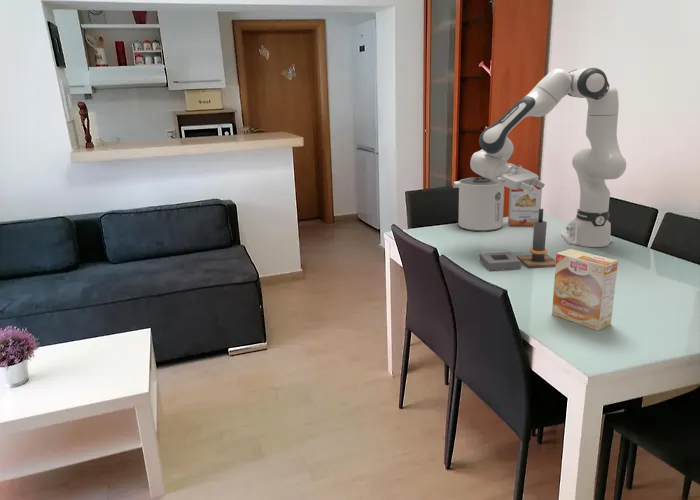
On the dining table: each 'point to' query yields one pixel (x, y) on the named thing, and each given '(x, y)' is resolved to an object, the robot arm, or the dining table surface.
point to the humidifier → (480, 204)
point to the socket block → (500, 261)
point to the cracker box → (524, 206)
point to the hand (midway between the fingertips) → (538, 187)
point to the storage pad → (533, 264)
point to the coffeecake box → (584, 288)
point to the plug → (539, 239)
